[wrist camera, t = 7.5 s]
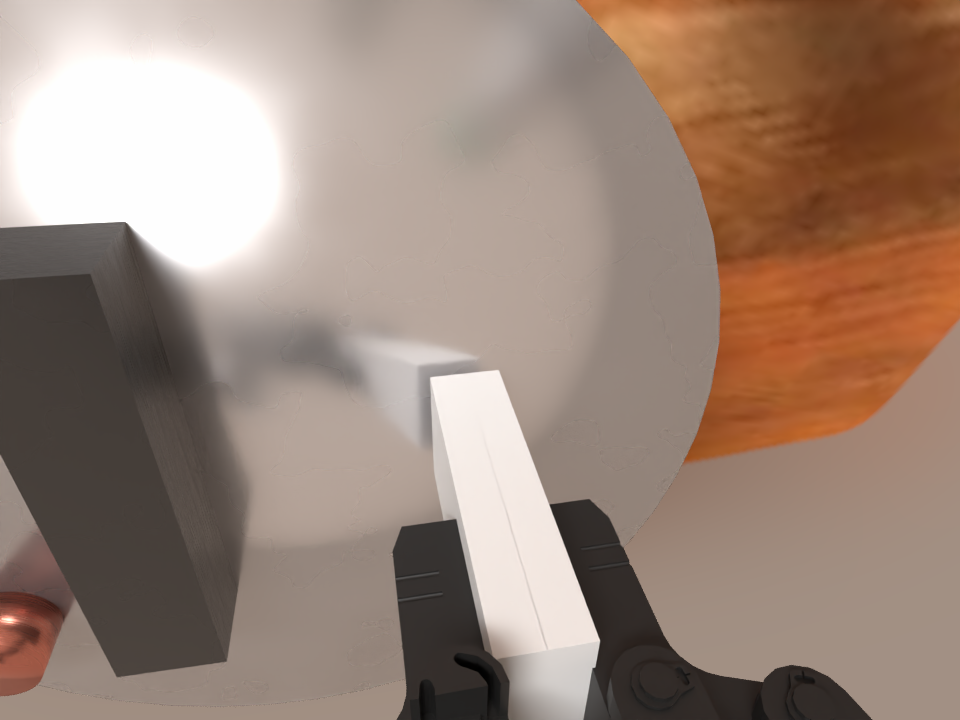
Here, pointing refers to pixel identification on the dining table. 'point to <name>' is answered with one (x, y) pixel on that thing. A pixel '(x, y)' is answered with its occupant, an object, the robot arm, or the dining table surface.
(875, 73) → the dining table surface
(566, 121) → the lid
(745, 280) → the dining table surface
